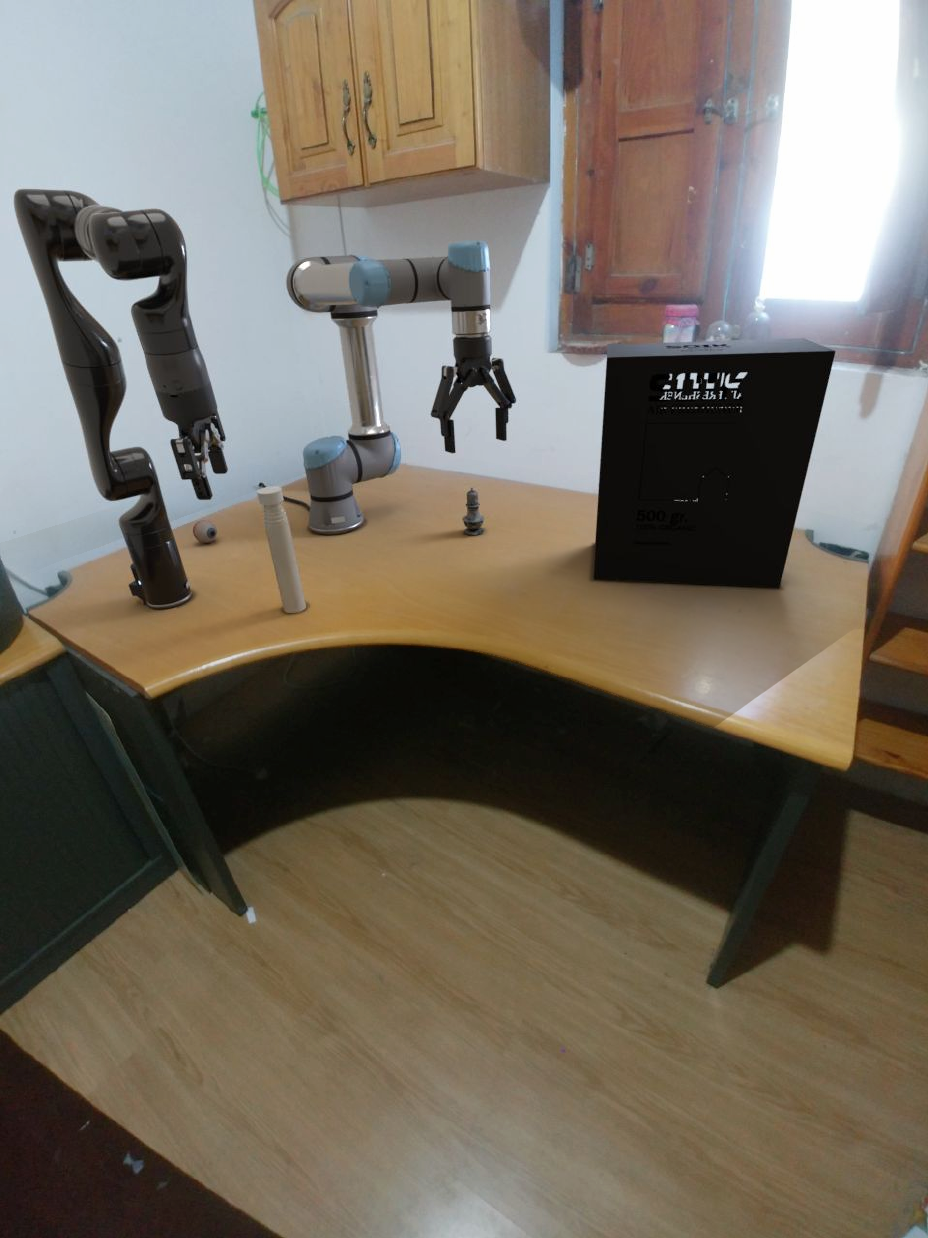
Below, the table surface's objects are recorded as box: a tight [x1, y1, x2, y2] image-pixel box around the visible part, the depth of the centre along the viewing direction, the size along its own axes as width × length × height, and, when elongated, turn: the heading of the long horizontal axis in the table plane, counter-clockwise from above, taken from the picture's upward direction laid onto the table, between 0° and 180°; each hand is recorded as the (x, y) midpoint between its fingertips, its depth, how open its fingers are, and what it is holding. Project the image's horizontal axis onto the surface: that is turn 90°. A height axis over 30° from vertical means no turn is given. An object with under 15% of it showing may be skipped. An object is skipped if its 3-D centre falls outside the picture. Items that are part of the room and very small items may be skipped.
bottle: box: [262, 502, 307, 614], centre depth 122 cm, size 5×5×25 cm
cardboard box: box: [592, 337, 836, 589], centre depth 125 cm, size 38×20×45 cm, turn 78°
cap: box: [256, 485, 285, 506], centre depth 116 cm, size 4×4×2 cm
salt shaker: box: [461, 487, 485, 536], centre depth 157 cm, size 6×6×12 cm
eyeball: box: [192, 519, 218, 544], centre depth 162 cm, size 6×6×6 cm
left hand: (213, 485), depth 95 cm, fingers open, 8 cm apart
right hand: (476, 445), depth 127 cm, fingers open, 13 cm apart
